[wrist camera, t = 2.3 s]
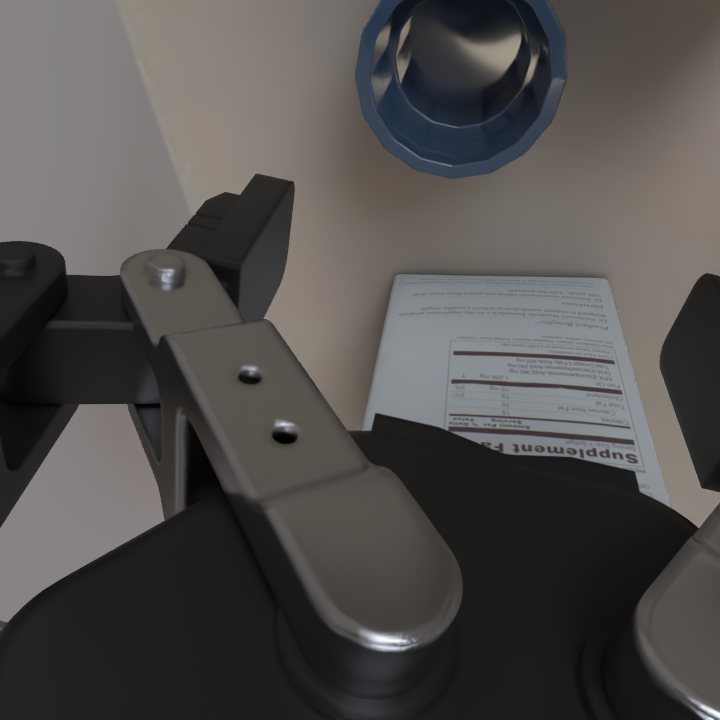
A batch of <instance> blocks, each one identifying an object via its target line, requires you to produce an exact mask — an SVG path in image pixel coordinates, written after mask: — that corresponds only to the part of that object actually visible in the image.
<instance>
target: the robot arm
mask: <svg viewBox="0 0 720 720" xmlns="http://www.w3.org/2000/svg"><path fill="white" fill-rule="evenodd" d="M294 191H295V186H294V182H293V181H288V180H284V179H279V178H274V177H270V176H265V175H261V174H256V175H255V176H254V177H253V178H252V180H251V181H250V182H249V184H248V185H247V186H246V188H245V189H244V191H243V192H242V193H241V195H237V194H232V193H228V192H225V193H222V194H220V195H218V196H215V197H213V198H211V199H208V200H206V201H205V203H204V204H203V205H202V206H201V207H200V209H199V210H198V211H197V212H196V215H194V216H193V217H192V218H191V219H190V221H189V222H188V225H185V227H184V228H183V229H182V230H181V231H180V233H179V234H178V235H177V236H176V237H175V239H174V240H173V241H172V242H171V243H170V245H169V246H168V247H167V248H166V249H155V250H148V251H144V252H140V253H137V254H134V255H133V256H131V257H129V258H128V259H127V260H125V261H124V262H123V264H122V266H121V268H120V275H117V276H87V275H86V276H85V275H66V266H65V260H64V257H63V256H62V255H61V253H60V252H58V251H57V250H55V249H53V248H52V247H49V246H46V245H44V244H39V243H34V242H25V241H11V242H2V243H0V527H1V526H2V524H3V523H4V521H5V520H6V518H7V516H8V515H9V513H10V512H11V510H12V509H13V507H14V506H15V504H16V502H17V501H18V499H19V498H20V496H21V495H22V493H23V492H24V490H25V488H26V487H27V486H28V484H29V482H30V481H31V479H32V478H33V476H34V475H35V473H36V472H37V470H38V468H39V467H40V465H41V464H42V462H43V460H44V459H45V458H46V456H47V454H48V453H49V451H50V450H51V448H52V447H53V445H54V444H55V442H56V440H57V439H58V437H59V436H60V434H61V433H62V431H63V430H64V428H65V427H66V425H67V424H68V422H69V420H70V419H71V417H72V416H73V414H74V413H75V411H76V410H77V408H78V406H79V404H127V405H128V410H129V412H130V415H131V417H132V420H133V423H134V425H135V428H136V430H137V432H138V435H139V438H140V440H141V443H142V446H143V448H144V451H145V453H146V456H147V458H148V461H149V463H150V466H151V468H152V471H153V473H154V476H155V479H156V481H157V484H158V488H159V492H160V496H161V502H162V508H163V514H164V519H165V521H163V522H161V523H160V524H158V525H156V526H155V527H153V528H151V529H149V530H148V531H146V532H144V533H142V534H140V535H138V536H137V537H135V538H133V539H131V540H130V541H128V542H126V543H124V544H123V545H121V546H119V547H117V548H116V549H114V550H112V551H110V552H108V553H107V554H105V555H103V556H101V557H99V558H98V559H96V560H94V561H92V562H91V563H89V564H87V565H85V566H84V567H82V568H80V569H78V570H76V571H75V572H73V573H71V574H69V575H68V576H66V577H64V578H62V579H61V580H59V581H57V582H56V583H54V584H53V585H51V586H49V587H48V588H46V589H45V590H43V591H42V592H40V593H39V594H38V595H37V596H35V597H34V598H33V599H32V600H30V601H29V602H28V603H27V604H26V605H24V606H23V607H22V608H21V610H19V611H18V613H16V614H15V615H14V616H13V618H12V619H11V620H10V621H9V622H8V623H6V622H3V621H0V720H720V503H719V505H718V506H717V507H716V508H715V509H714V511H713V512H712V513H711V514H710V516H709V517H708V518H707V519H706V520H705V522H704V523H703V524H702V525H701V527H700V528H698V527H697V526H695V525H694V524H693V523H692V522H691V521H689V520H688V519H686V518H685V517H684V516H682V515H681V514H679V513H678V512H677V511H675V510H673V509H672V508H670V507H668V506H667V505H665V504H663V503H662V502H660V501H658V500H656V499H654V498H652V497H650V496H648V495H646V494H643V493H641V492H640V490H639V486H638V482H637V478H636V473H635V471H632V470H627V469H623V468H618V467H614V466H609V465H605V464H601V463H596V462H592V461H587V460H583V459H578V458H574V457H563V456H536V455H511V454H505V453H501V452H498V451H496V450H493V449H491V448H488V447H486V446H484V445H481V444H479V443H476V442H474V441H471V440H469V439H467V438H464V437H462V436H459V435H457V434H455V433H452V432H450V431H447V430H445V429H442V428H440V427H437V426H432V425H428V424H423V423H419V422H414V421H410V420H406V419H401V418H397V417H392V416H388V415H383V414H379V413H375V416H374V420H373V424H372V429H371V431H364V430H359V431H347V430H346V428H345V427H344V425H343V424H342V422H341V421H340V419H339V418H338V417H337V415H336V414H335V412H334V411H333V409H332V408H331V407H330V405H329V404H328V402H327V401H326V399H325V398H324V397H323V395H322V394H321V392H320V391H319V389H318V388H317V386H316V385H315V384H314V382H313V381H312V379H311V378H310V376H309V375H308V374H307V372H306V371H305V369H304V368H303V366H302V365H301V364H300V362H299V361H298V359H297V358H296V356H295V355H294V353H293V352H292V351H291V349H290V348H289V346H288V345H287V343H286V342H285V341H284V339H283V338H282V336H281V335H280V333H279V332H278V331H277V329H276V328H275V326H274V325H273V324H272V323H271V322H270V321H269V320H267V319H263V318H264V316H265V314H266V312H267V310H268V308H269V306H270V304H271V302H272V300H273V298H274V296H275V294H276V292H277V290H278V288H279V286H280V283H281V281H282V278H283V274H284V270H285V266H286V261H287V255H288V246H289V237H290V229H291V220H292V211H293V202H294ZM660 370H661V373H662V376H663V379H664V381H665V384H666V387H667V390H668V393H669V396H670V399H671V401H672V404H673V407H674V410H675V413H676V416H677V419H678V421H679V424H680V427H681V430H682V433H683V436H684V439H685V442H686V444H687V447H688V450H689V453H690V456H691V459H692V462H693V464H694V467H695V470H696V473H697V476H698V479H699V482H700V484H701V487H702V488H704V489H708V490H713V491H717V492H720V276H718V275H713V274H708V273H707V274H704V275H702V276H701V277H700V278H699V279H698V281H697V282H696V283H695V285H694V287H693V289H692V290H691V292H690V294H689V296H688V298H687V300H686V302H685V303H684V305H683V307H682V309H681V311H680V313H679V315H678V316H677V318H676V320H675V322H674V324H673V326H672V328H671V329H670V331H669V333H668V335H667V337H666V339H665V341H664V344H663V346H662V350H661V355H660Z"/></svg>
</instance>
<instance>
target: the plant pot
mask: <svg viewBox="0 0 720 720" xmlns="http://www.w3.org/2000/svg"><path fill="white" fill-rule="evenodd" d="M355 75H356V76H355V78H356V83H357V88H358V93H359V98H360V103H361V107H362V112H363V115H364V118H365V119H366V121H367V122H368V124H369V125H370V127H371V129H372V130H373V132H374V133H375V135H376V136H377V138H378V139H379V141H380V142H381V144H382V145H383V147H384V148H385V149H386V150H387V151H389V152H390V153H392V154H393V155H394V156H396V157H397V158H399V159H400V160H402V161H403V162H404V163H406V164H407V165H409V166H410V167H411V168H413V169H415V170H417V171H420V172H425V173H429V174H433V175H438V176H442V177H446V178H450V179H451V178H453V179H455V178H462V177H469V176H476V175H482V174H489V173H491V172H493V171H495V170H497V169H499V168H501V167H502V166H504V165H506V164H508V163H509V162H511V161H513V160H515V159H516V158H518V157H520V156H522V155H524V153H526V152H527V151H528V150H529V149H530V147H531V146H532V145H533V144H534V143H535V141H536V140H537V139H538V138H539V137H540V135H541V134H542V133H543V132H544V131H545V129H546V128H547V127H548V126H549V125H550V124H551V122H552V120H553V118H554V115H555V113H556V110H557V107H558V104H559V101H560V98H561V95H562V93H563V90H564V87H565V84H566V79H567V65H566V41H565V35H564V31H563V28H562V26H561V24H560V22H559V19H558V17H557V15H556V13H555V10H554V8H553V6H552V4H551V2H550V0H381V1H380V3H379V5H378V6H377V8H376V10H375V11H374V13H373V15H372V16H371V18H370V20H369V21H368V23H367V25H366V26H365V28H364V30H363V33H362V35H361V41H360V47H359V53H358V59H357V65H356V71H355Z"/></svg>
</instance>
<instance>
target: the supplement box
mask: <svg viewBox="0 0 720 720" xmlns="http://www.w3.org/2000/svg"><path fill="white" fill-rule="evenodd" d="M375 413H379V414H383V415H388V416H392V417H397V418H401V419H406V420H410V421H414V422H419V423H423V424H428V425H432V426H437V427H440V428H442V429H445V430H447V431H450V432H452V433H455V434H457V435H459V436H462V437H464V438H467V439H469V440H471V441H474V442H476V443H479V444H481V445H484V446H486V447H488V448H491V449H493V450H496V451H498V452H501V453H505V454H511V455H536V456H563V457H574V458H578V459H583V460H587V461H592V462H596V463H601V464H605V465H609V466H614V467H618V468H623V469H627V470H632V471H635V473H636V478H637V482H638V486H639V490H640V492H641V493H643V494H646V495H648V496H650V497H652V498H654V499H656V500H658V501H660V502H662V503H663V504H665V505H667V506H668V507H670V508H672V506H671V502H670V499H669V495H668V492H667V489H666V485H665V482H664V479H663V475H662V472H661V469H660V465H659V462H658V458H657V454H656V451H655V447H654V444H653V441H652V437H651V434H650V430H649V426H648V422H647V419H646V415H645V411H644V408H643V404H642V400H641V397H640V394H639V389H638V386H637V383H636V378H635V375H634V372H633V368H632V365H631V360H630V357H629V353H628V349H627V347H626V343H625V339H624V335H623V332H622V328H621V324H620V321H619V318H618V314H617V310H616V306H615V303H614V300H613V296H612V292H611V289H610V285H609V282H608V280H607V279H606V278H572V277H519V276H467V275H419V274H398V275H396V276H395V278H394V282H393V287H392V291H391V295H390V300H389V305H388V309H387V314H386V318H385V323H384V328H383V332H382V337H381V341H380V346H379V351H378V355H377V360H376V365H375V370H374V374H373V379H372V383H371V387H370V392H369V397H368V401H367V406H366V410H365V415H364V420H363V424H362V429H361V430H364V431H371V429H372V424H373V420H374V416H375Z"/></svg>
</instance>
